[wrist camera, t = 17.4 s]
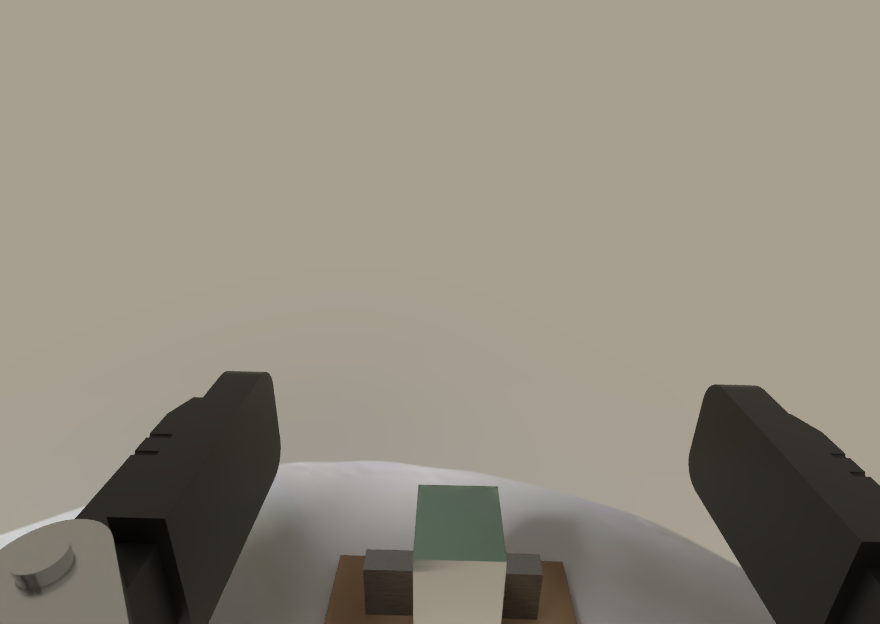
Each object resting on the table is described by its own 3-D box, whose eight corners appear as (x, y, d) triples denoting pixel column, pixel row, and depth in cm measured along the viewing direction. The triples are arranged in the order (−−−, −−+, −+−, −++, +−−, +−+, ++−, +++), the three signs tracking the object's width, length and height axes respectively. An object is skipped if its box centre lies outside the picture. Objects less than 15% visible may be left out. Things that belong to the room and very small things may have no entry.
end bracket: (365, 614, 33) (363, 569, 32) (369, 593, 35) (366, 549, 33) (537, 619, 33) (543, 575, 31) (533, 598, 34) (539, 554, 33)
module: (413, 693, 28) (412, 559, 24) (418, 608, 33) (418, 484, 29) (494, 695, 28) (506, 562, 24) (487, 610, 33) (497, 486, 29)
